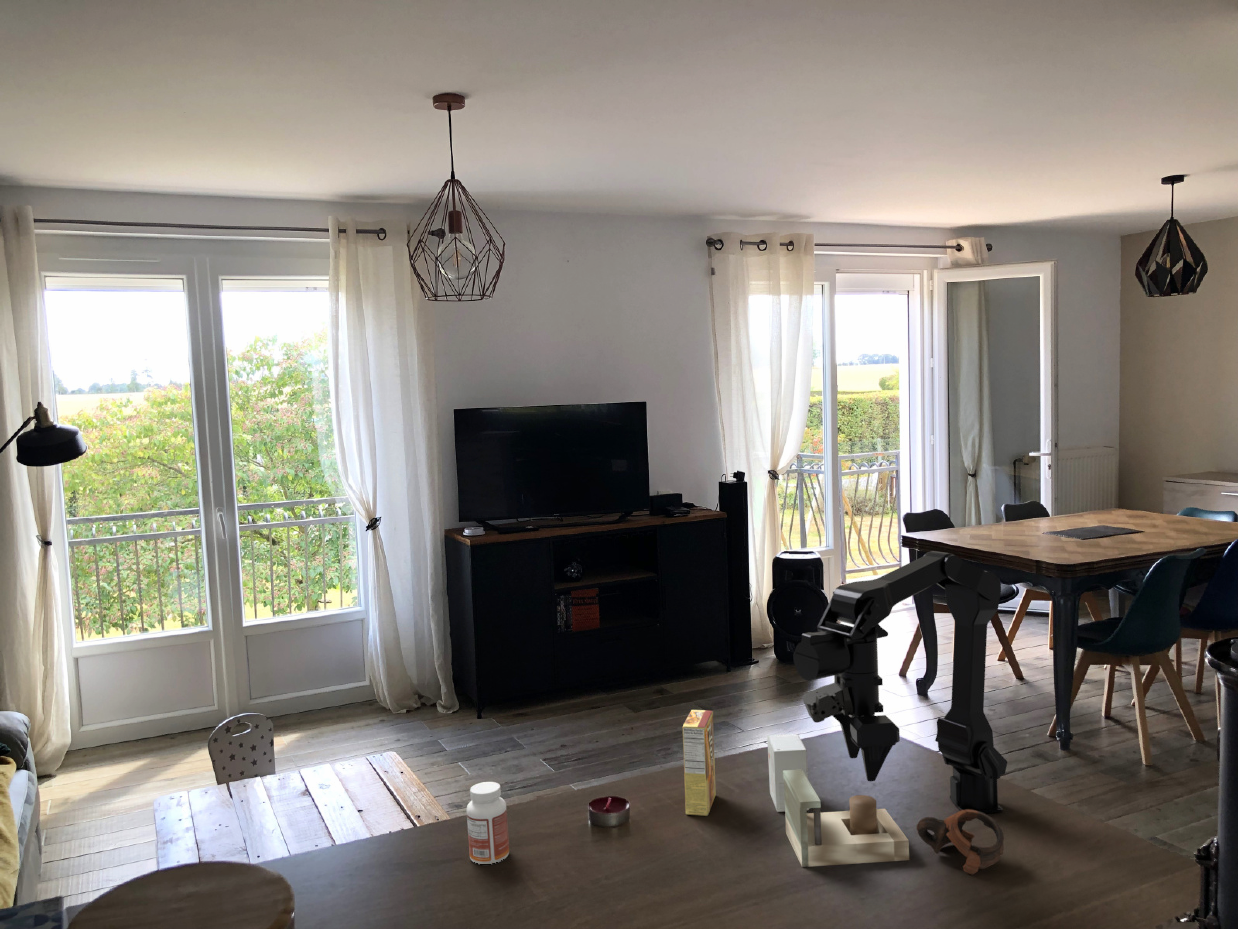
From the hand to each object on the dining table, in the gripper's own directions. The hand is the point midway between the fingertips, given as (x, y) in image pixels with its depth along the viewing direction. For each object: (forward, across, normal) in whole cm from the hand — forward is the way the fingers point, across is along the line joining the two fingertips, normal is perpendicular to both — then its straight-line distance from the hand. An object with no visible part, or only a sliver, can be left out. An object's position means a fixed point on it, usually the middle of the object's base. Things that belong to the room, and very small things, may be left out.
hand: (861, 769), depth 141 cm
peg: (+12, 0, 0) cm, 12 cm away
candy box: (+12, -18, -23) cm, 32 cm away
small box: (+12, -17, -8) cm, 22 cm away
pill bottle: (+12, -4, -58) cm, 59 cm away
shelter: (+12, 0, -3) cm, 12 cm away
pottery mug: (+12, +6, +12) cm, 18 cm away
